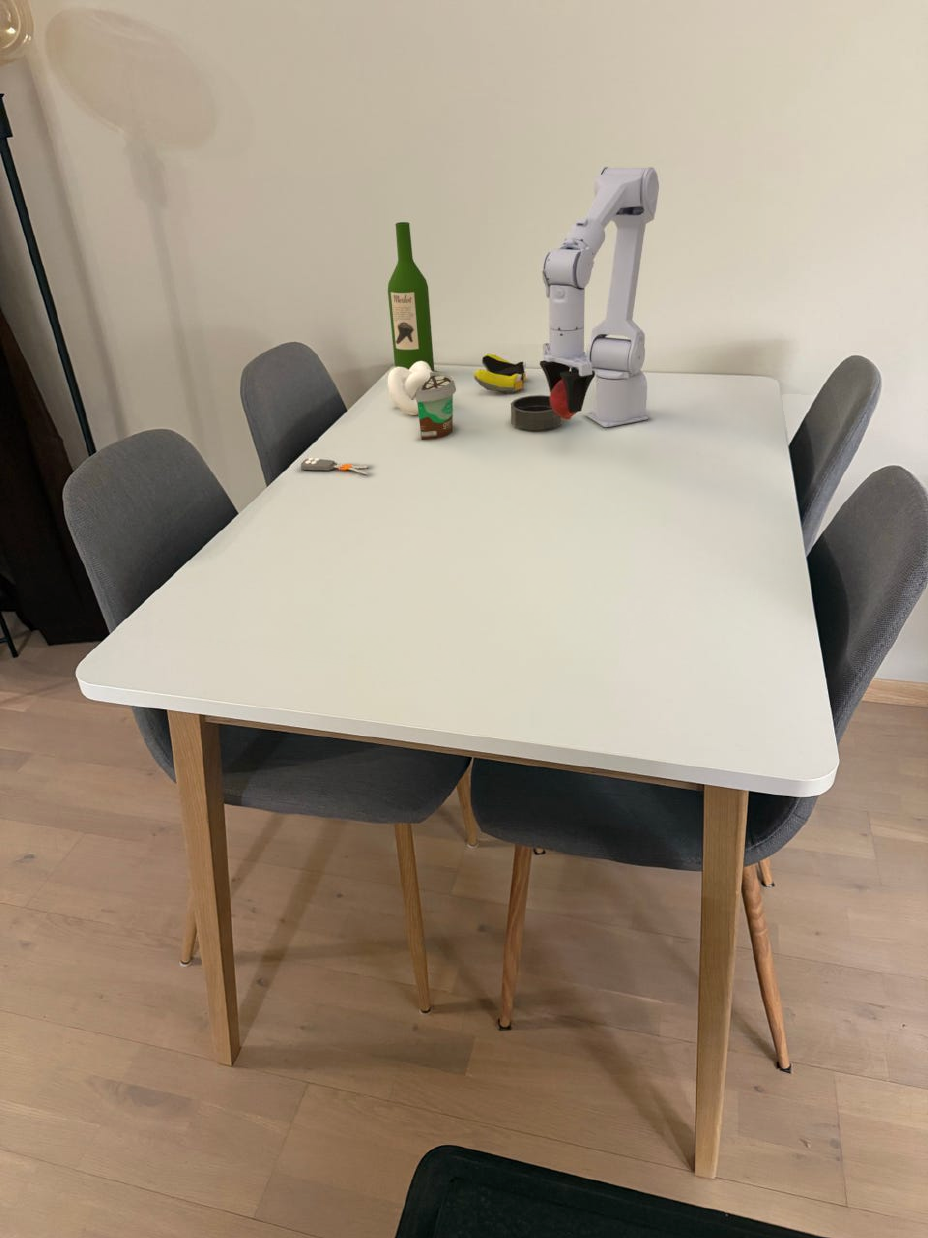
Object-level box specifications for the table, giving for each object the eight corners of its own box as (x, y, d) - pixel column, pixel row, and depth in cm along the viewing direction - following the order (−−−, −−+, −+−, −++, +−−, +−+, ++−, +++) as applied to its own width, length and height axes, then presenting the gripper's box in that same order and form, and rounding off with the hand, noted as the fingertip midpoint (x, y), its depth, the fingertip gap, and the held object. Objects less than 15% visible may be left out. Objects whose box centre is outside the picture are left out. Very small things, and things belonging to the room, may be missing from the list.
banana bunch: (473, 397, 192) (520, 397, 190) (472, 371, 189) (519, 371, 187) (484, 376, 205) (528, 375, 203) (483, 351, 202) (527, 351, 200)
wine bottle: (392, 381, 205) (376, 227, 188) (400, 369, 212) (386, 220, 195) (430, 381, 204) (418, 225, 186) (437, 369, 211) (427, 218, 194)
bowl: (549, 411, 182) (549, 392, 180) (572, 426, 174) (572, 406, 172) (503, 420, 179) (502, 400, 177) (524, 436, 171) (523, 415, 169)
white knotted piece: (383, 403, 192) (378, 361, 187) (437, 395, 194) (434, 354, 190) (394, 420, 182) (390, 376, 178) (451, 411, 185) (448, 368, 180)
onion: (561, 427, 154) (561, 381, 150) (543, 418, 159) (543, 373, 155) (589, 420, 157) (590, 374, 152) (571, 411, 161) (571, 366, 157)
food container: (451, 443, 170) (447, 391, 165) (419, 442, 171) (415, 391, 166) (464, 420, 180) (461, 371, 175) (434, 420, 181) (430, 370, 176)
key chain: (299, 471, 162) (298, 463, 161) (307, 463, 165) (306, 455, 164) (366, 475, 159) (365, 467, 158) (374, 467, 162) (373, 459, 161)
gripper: (526, 320, 154) (528, 397, 161) (564, 340, 142) (564, 422, 150) (563, 314, 156) (563, 391, 163) (604, 333, 144) (602, 415, 151)
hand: (566, 405), depth 156 cm, fingers closed on onion, 6 cm apart
